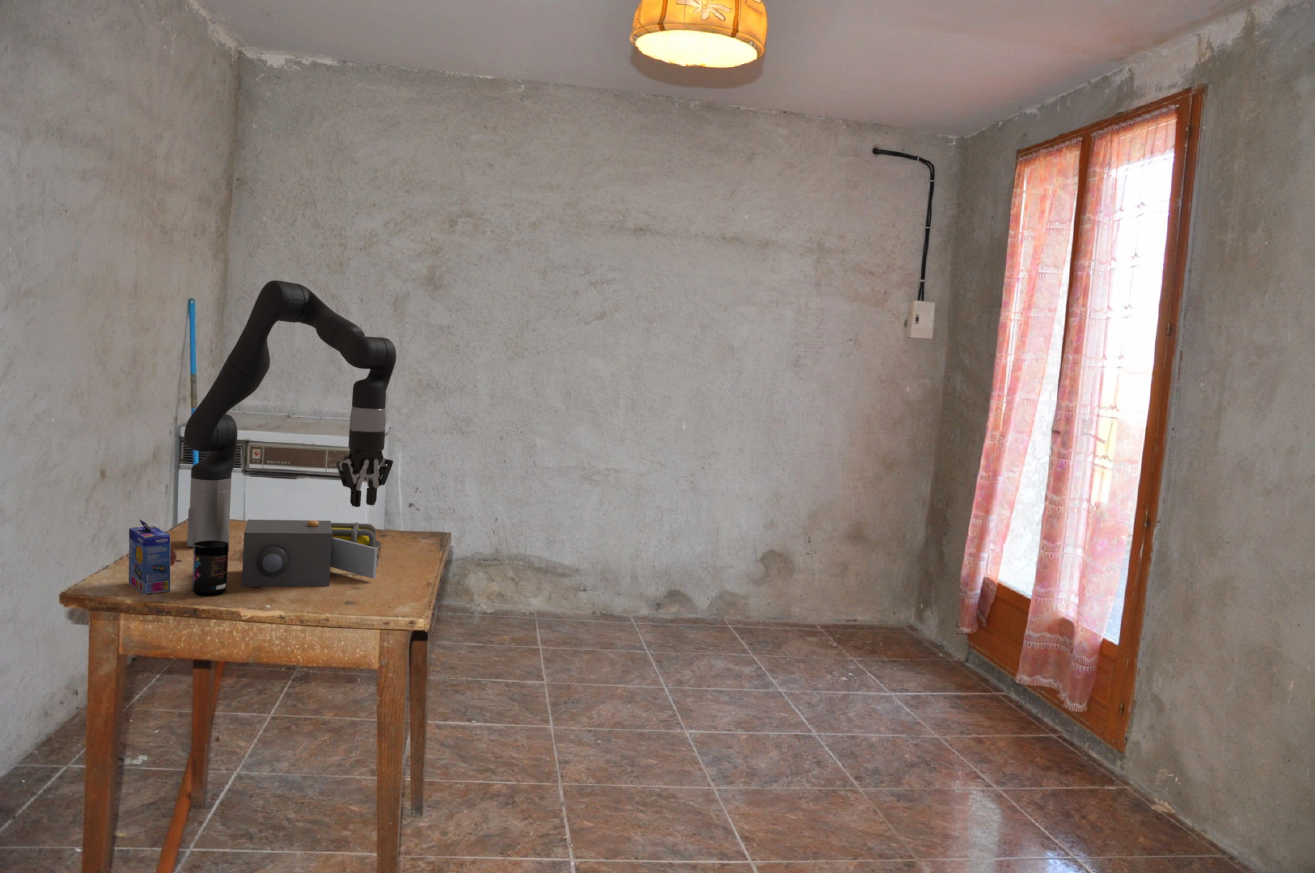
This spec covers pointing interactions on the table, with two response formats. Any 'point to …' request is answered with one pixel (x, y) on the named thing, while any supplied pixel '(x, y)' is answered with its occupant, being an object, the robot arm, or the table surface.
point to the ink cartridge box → (149, 559)
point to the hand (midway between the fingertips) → (363, 505)
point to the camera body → (286, 553)
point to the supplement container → (210, 568)
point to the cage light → (357, 534)
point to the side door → (354, 557)
